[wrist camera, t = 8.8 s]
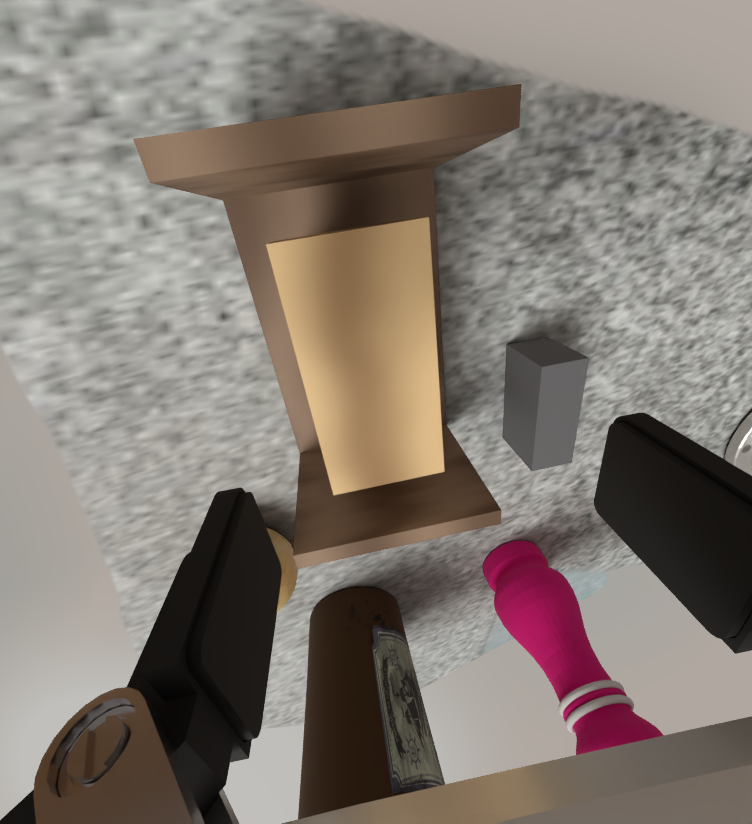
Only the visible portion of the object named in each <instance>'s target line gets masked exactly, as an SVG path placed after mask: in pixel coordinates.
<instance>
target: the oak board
mask: <svg viewBox="0 0 752 824" xmlns="http://www.w3.org/2000/svg"><path fill="white" fill-rule="evenodd" d="M266 247H267V250H268V254H269V258H270V261H271V265H272V269H273V273H274V276H275V280H276V284H277V287H278V291H279V295H280V298H281V302H282V306H283V310H284V313H285V317H286V321H287V324H288V328H289V332H290V336H291V339H292V343H293V347H294V350H295V354H296V358H297V362H298V365H299V369H300V373H301V376H302V380H303V384H304V388H305V391H306V395H307V399H308V402H309V406H310V410H311V414H312V417H313V421H314V425H315V428H316V432H317V436H318V439H319V443H320V447H321V451H322V454H323V458H324V462H325V465H326V469H327V473H328V477H329V480H330V484H331V488H332V491H333V495H338V494H343V493H347V492H352V491H357V490H361V489H366V488H371V487H375V486H380V485H385V484H390V483H394V482H399V481H404V480H408V479H413V478H418V477H422V476H427V475H432V474H436V473H441V472H445V471H444V454H443V438H442V421H441V405H440V389H439V372H438V356H437V339H436V323H435V306H434V290H433V274H432V257H431V241H430V224H429V217H421V218H410V219H404V220H398V221H392V222H386V223H380V224H374V225H368V226H362V227H356V228H350V229H344V230H338V231H332V232H326V233H320V234H314V235H308V236H302V237H296V238H290V239H284V240H278V241H273V242H270V243H268V244H266Z"/></svg>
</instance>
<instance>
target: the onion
mask: <svg viewBox="0 0 752 824" xmlns="http://www.w3.org/2000/svg"><path fill="white" fill-rule="evenodd" d="M267 531H268V533H269V536H270V538H271V541H272V543H273V546H274V548H275V551H276V553H277V556H278V558H279V560H280V563H281V569H282V578H281V586H280V593H279V600H278V608H277V612H278V611H279V610H281V609H282V608H283V606H284V605H285V604H286V603H287V602H288V600H289V599H290V597H291V595H292V593H293V591H294V588H295V585H296V580H297V573H298V568H297V565H296V563H295V560H294V557H293V548H292V546H291V544H290V543H289V542H288V541H287V540H286V539H285V538H284V537H283V536H281V535H280V534H279V533H277V532H276V531H274V530H272V529H269V528H267Z"/></svg>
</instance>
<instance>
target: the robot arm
mask: <svg viewBox="0 0 752 824" xmlns="http://www.w3.org/2000/svg"><path fill="white" fill-rule="evenodd" d="M594 506H595V509H596V511H597V513H598V514H599V515H600V516H601V517H602V518H603V520H604V521H605V522H606V523H607V524H608V525H609V526H610V527H611V528H612V529H613V530H614V531H615V532H616V533H617V534H618V536H619V537H620V538H621V539H622V540H623V541H624V542H625V543H626V544H627V545H628V546H629V547H630V548H631V549H632V551H633V552H634V553H635V554H636V555H637V556H638V557H639V558H640V559H641V560H642V561H643V562H644V563H645V564H646V565H647V567H648V568H649V569H650V570H651V571H652V572H653V573H654V574H655V575H656V576H657V577H658V578H659V579H660V580H661V581H662V583H663V584H664V585H665V586H666V587H667V588H668V589H669V590H670V591H671V592H672V593H673V594H674V595H675V596H676V598H677V599H678V600H679V601H680V602H681V603H682V604H683V605H684V606H685V607H686V608H687V609H688V610H689V611H690V613H692V615H693V616H694V617H695V618H696V619H697V620H698V621H699V622H700V623H701V624H702V625H703V626H704V627H705V629H706V630H707V631H709V632H710V633H711V634H712V635H714V636H715V637H717V638H720V639H722V640H723V641H724V642H725V643H726V644H727V645H728V646H729V647H730V648H731V649H732V650H733V652H734V653H741V652H745V651H750V650H752V412H751V413H750V414H749V415H748V416H747V417H746V419H745V420H744V421H743V422H742V423H741V425H740V426H739V427H738V429H737V430H736V432H735V433H734V435H733V436H732V438H731V441H730V443H729V445H728V447H727V450H726V454H725V460H724V459H722V458H721V457H719V456H717V455H716V454H714V453H712V452H711V451H709V450H707V449H706V448H704V447H702V446H700V445H699V444H697V443H695V442H694V441H692V440H690V439H689V438H687V437H685V436H684V435H682V434H680V433H678V432H677V431H675V430H673V429H672V428H670V427H668V426H667V425H665V424H663V423H661V422H660V421H658V420H656V419H655V418H653V417H651V416H650V415H648V414H645V413H636V414H631V415H625V416H620V417H618V418H616V419H615V421H614V423H613V424H611V425H610V427H609V430H608V435H607V440H606V445H605V449H604V454H603V459H602V464H601V469H600V474H599V479H598V484H597V488H596V493H595V498H594ZM281 578H282V569H281V563H280V560H279V558H278V556H277V553H276V551H275V548H274V546H273V543H272V541H271V538H270V536H269V533H268V531H267V528H266V526H265V524H264V521H263V519H262V516H261V514H260V511H259V509H258V506H257V504H256V501H255V499H254V496H253V494H252V493H251V492H246V493H245V491H244V490H243V489H242V488H236V489H231V490H225V491H220V492H217V493H216V495H215V496H214V499H213V501H212V503H211V506H210V508H209V510H208V513H207V515H206V517H205V520H204V522H203V524H202V527H201V529H200V532H199V534H198V536H197V539H196V541H195V543H194V546H193V548H192V550H191V552H190V553H188V554H187V555H186V556H185V558H184V559H183V561H182V563H181V565H180V567H179V570H178V572H177V574H176V576H175V579H174V581H173V583H172V586H171V588H170V590H169V592H168V595H167V597H166V599H165V601H164V604H163V606H162V608H161V611H160V613H159V615H158V617H157V620H156V622H155V624H154V626H153V629H152V631H151V633H150V635H149V638H148V640H147V642H146V645H145V647H144V649H143V651H142V654H141V656H140V658H139V660H138V663H137V665H136V667H135V670H134V672H133V674H132V676H131V679H130V681H129V683H128V685H127V687H125V688H117V689H113V690H111V691H109V692H106V693H104V694H102V695H100V696H98V697H97V698H95V699H94V700H93V701H91V702H89V703H88V704H86V705H85V706H84V707H83V708H82V709H80V710H79V711H78V712H77V713H76V714H75V715H74V716H73V717H72V718H71V719H70V720H69V721H68V722H67V723H66V724H65V726H64V727H63V728H62V729H61V730H60V732H59V733H58V734H57V735H56V737H55V738H54V739H53V741H52V743H51V744H50V746H49V748H48V749H47V751H46V753H45V754H44V756H43V758H42V760H41V763H40V766H39V769H38V771H37V774H36V777H35V783H34V790H33V791H32V792H31V793H29V794H28V795H27V796H26V797H25V798H24V799H23V800H22V801H21V802H20V803H19V804H18V805H16V806H15V807H14V808H13V809H12V810H11V811H10V812H9V813H8V814H7V815H6V816H5V817H3V818H2V819H1V820H0V824H239V822H238V820H237V818H236V816H235V814H234V812H233V809H232V807H231V805H230V803H229V801H228V799H227V797H226V795H225V792H224V790H223V787H224V786H225V785H226V780H227V775H228V769H229V764H230V762H233V761H239V760H243V759H248V758H249V753H250V747H251V740H252V739H254V738H257V737H258V735H259V733H260V730H261V725H262V718H263V710H264V703H265V696H266V688H267V681H268V674H269V666H270V659H271V652H272V644H273V637H274V630H275V622H276V615H277V608H278V600H279V593H280V586H281ZM282 824H752V717H747V718H742V719H738V720H733V721H729V722H724V723H719V724H715V725H710V726H705V727H701V728H697V729H692V730H687V731H683V732H678V733H674V734H669V735H665V736H660V737H656V738H651V739H647V740H642V741H638V742H633V743H628V744H624V745H619V746H615V747H610V748H606V749H601V750H597V751H592V752H588V753H583V754H579V755H575V756H570V757H565V758H561V759H557V760H552V761H548V762H543V763H539V764H534V765H530V766H525V767H521V768H516V769H512V770H507V771H503V772H499V773H494V774H490V775H486V776H481V777H477V778H473V779H468V780H464V781H459V782H455V783H450V784H446V785H441V786H437V787H433V788H428V789H424V790H420V791H415V792H411V793H406V794H402V795H398V796H393V797H389V798H384V799H380V800H376V801H371V802H367V803H362V804H358V805H354V806H350V807H346V808H342V809H338V810H334V811H330V812H326V813H322V814H318V815H314V816H310V817H306V818H302V819H298V820H294V821H290V822H286V823H282Z"/></svg>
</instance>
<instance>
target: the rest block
mask: <svg viewBox="0 0 752 824" xmlns="http://www.w3.org/2000/svg"><path fill="white" fill-rule="evenodd" d="M588 361H589V358H588V357H586V356H584V355H582V354H580V353H578V352H576V351H574V350H572V349H570V348H568V347H566V346H564V345H562V344H560V343H558V342H556V341H554V340H552V339H550V338H548V337H544V338H538V339H533V340H528V341H522V342H517V343H512V344H507V348H506V371H505V394H504V417H503V438H504V440H505V441H506V442H507V443H508V444H509V445H510V447H511V448H512V449H513V450H514V451H515V452H516V453H517V455H518V456H519V457H520V458H521V459H522V460H523V462H524V463H525V464H526V465H527V466H528V467H529V468H530V470H531V471H534V470H539V469H544V468H548V467H553V466H558V465H562V464H567V463H572V457H573V451H574V445H575V439H576V433H577V427H578V421H579V415H580V409H581V403H582V397H583V391H584V385H585V379H586V373H587V367H588Z"/></svg>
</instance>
